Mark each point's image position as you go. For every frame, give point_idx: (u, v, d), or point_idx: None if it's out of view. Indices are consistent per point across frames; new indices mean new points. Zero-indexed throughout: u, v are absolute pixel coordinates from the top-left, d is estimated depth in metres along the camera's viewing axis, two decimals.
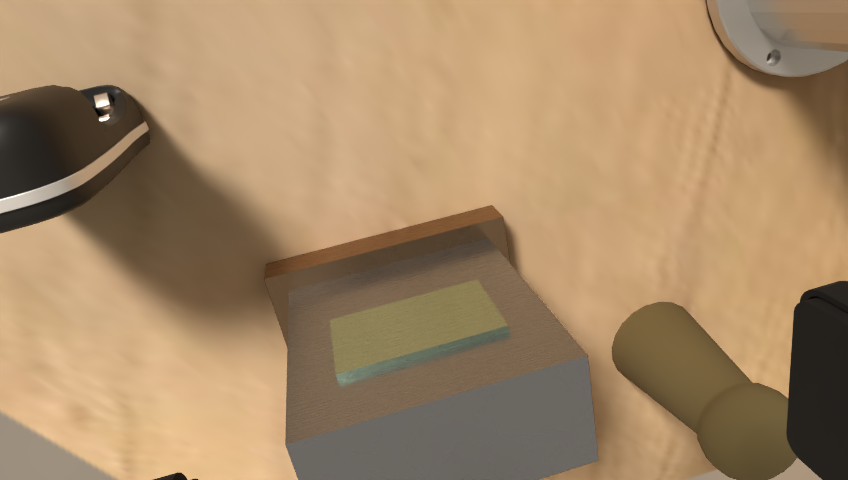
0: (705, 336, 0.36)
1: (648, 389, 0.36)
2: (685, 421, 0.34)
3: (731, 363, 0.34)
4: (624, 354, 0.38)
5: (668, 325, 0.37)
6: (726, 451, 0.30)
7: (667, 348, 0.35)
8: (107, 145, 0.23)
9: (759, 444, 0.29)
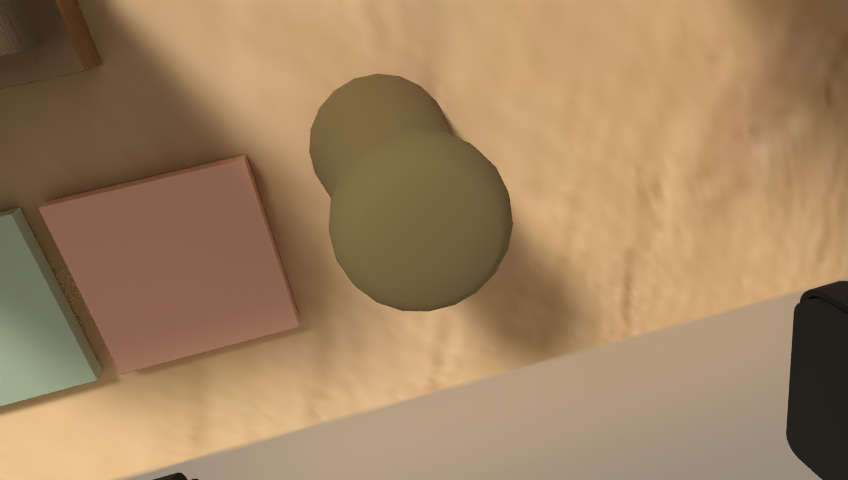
0: (418, 104, 0.21)
1: (330, 196, 0.22)
2: None
3: (431, 127, 0.19)
4: (314, 152, 0.24)
5: (366, 93, 0.22)
6: (343, 239, 0.16)
7: (347, 118, 0.21)
8: None
9: (395, 220, 0.15)
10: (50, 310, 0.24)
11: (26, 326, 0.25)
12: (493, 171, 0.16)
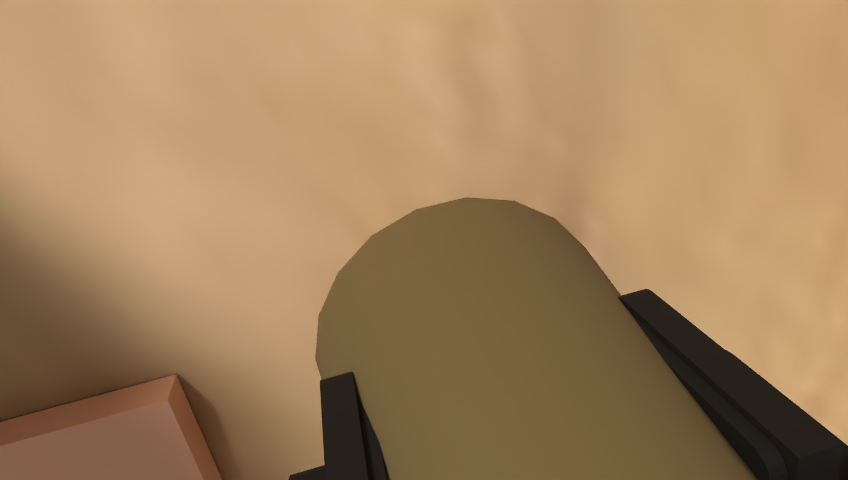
0: (604, 313, 0.08)
1: None
2: None
3: (712, 456, 0.06)
4: None
5: (460, 271, 0.09)
6: None
7: (424, 366, 0.08)
8: None
9: None
10: None
11: None
12: None
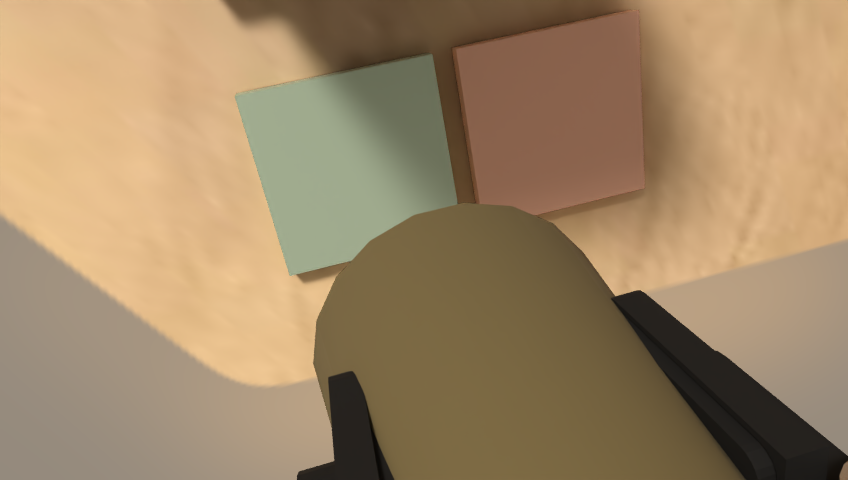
0: (601, 320, 0.08)
1: None
2: None
3: (708, 466, 0.06)
4: (325, 388, 0.10)
5: (457, 277, 0.09)
6: None
7: (420, 374, 0.08)
8: None
9: None
10: (441, 156, 0.26)
11: (416, 172, 0.26)
12: None
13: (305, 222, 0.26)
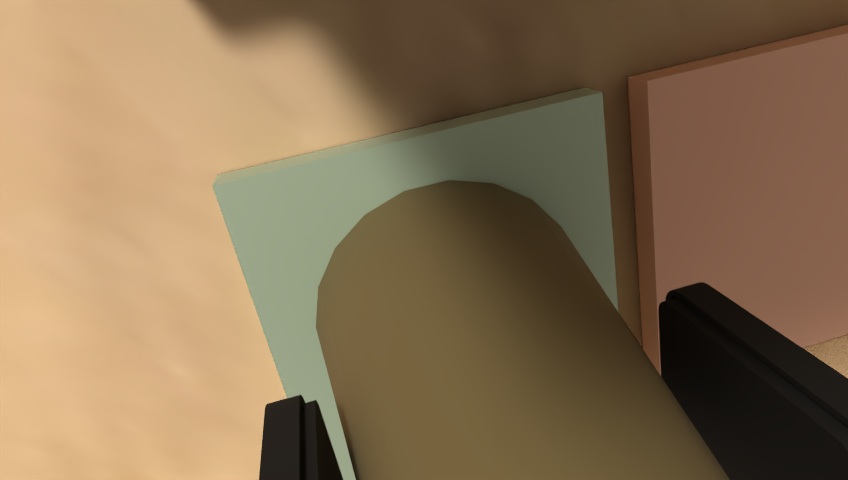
0: (560, 274, 0.09)
1: None
2: None
3: (633, 382, 0.07)
4: (324, 345, 0.12)
5: (436, 240, 0.10)
6: None
7: (399, 317, 0.09)
8: None
9: None
10: (600, 278, 0.14)
11: None
12: None
13: None
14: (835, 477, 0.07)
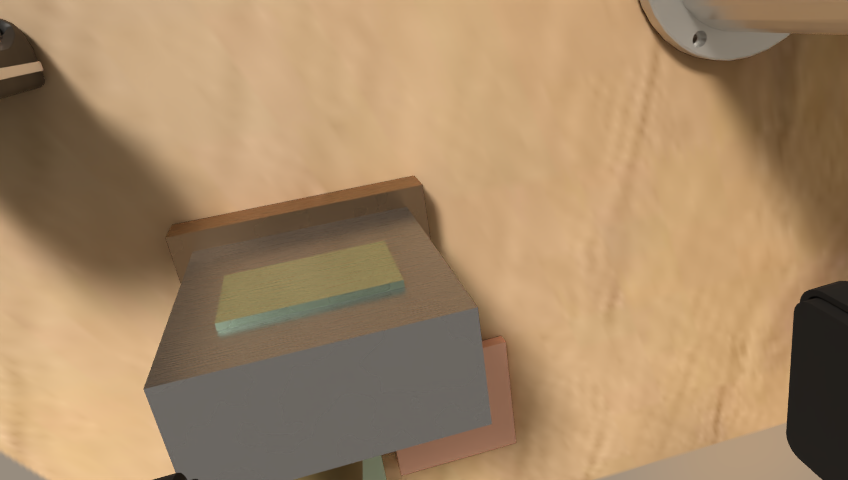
0: None
1: None
2: None
3: None
4: None
5: None
6: None
7: None
8: None
9: None
10: None
11: None
12: None
13: None
14: None
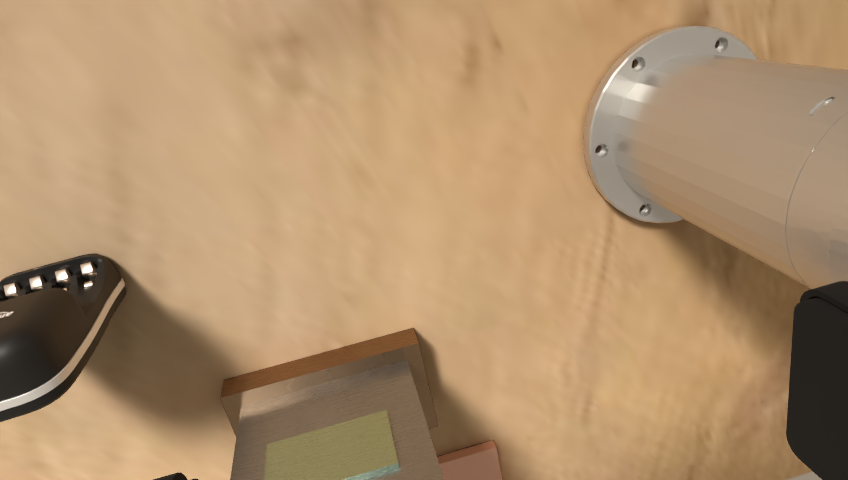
0: None
1: None
2: None
3: None
4: None
5: None
6: None
7: None
8: (88, 328, 0.29)
9: None
10: None
11: None
12: None
13: None
14: None
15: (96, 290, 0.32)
